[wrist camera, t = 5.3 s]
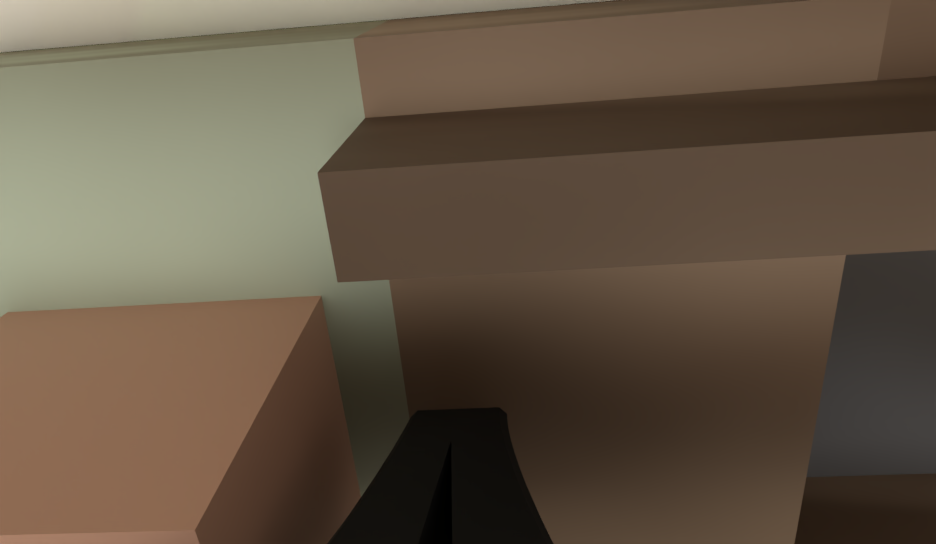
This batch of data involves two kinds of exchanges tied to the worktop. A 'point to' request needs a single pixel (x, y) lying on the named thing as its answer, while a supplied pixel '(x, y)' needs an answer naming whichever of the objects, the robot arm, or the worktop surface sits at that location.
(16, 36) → the worktop surface
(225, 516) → the block
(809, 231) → the trap channel
